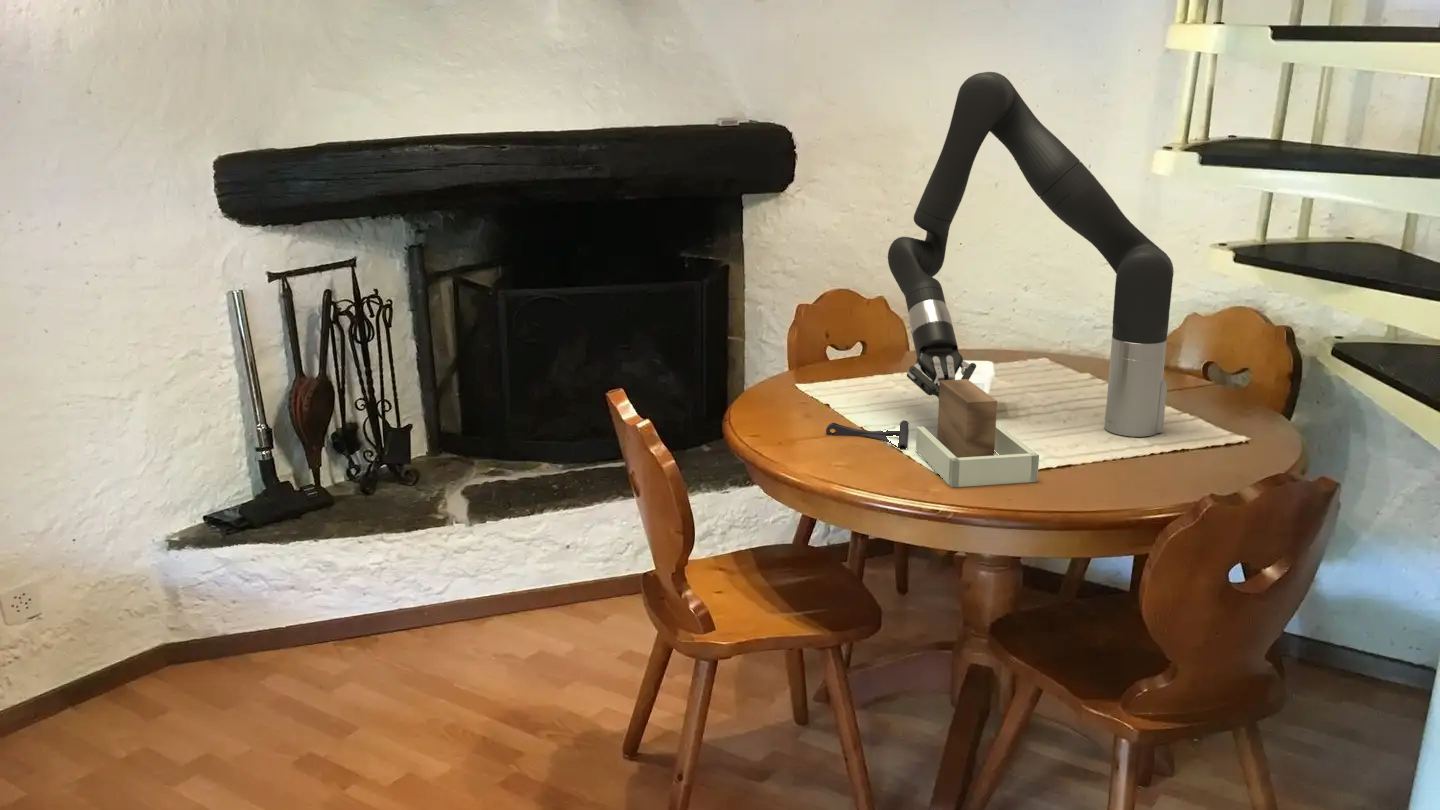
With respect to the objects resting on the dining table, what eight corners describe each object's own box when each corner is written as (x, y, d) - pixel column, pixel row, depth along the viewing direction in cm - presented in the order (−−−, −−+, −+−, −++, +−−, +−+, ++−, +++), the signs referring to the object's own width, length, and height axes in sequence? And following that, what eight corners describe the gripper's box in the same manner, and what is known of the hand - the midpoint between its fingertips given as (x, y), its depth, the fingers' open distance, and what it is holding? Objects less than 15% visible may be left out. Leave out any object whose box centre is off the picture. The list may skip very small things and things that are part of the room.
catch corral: (994, 446, 196) (996, 422, 195) (1037, 481, 179) (1039, 455, 177) (915, 451, 194) (916, 426, 193) (951, 487, 177) (952, 460, 176)
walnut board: (964, 444, 197) (967, 379, 194) (993, 470, 184) (997, 400, 181) (937, 446, 197) (939, 380, 193) (964, 472, 183) (967, 402, 180)
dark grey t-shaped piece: (829, 425, 212) (829, 411, 211) (908, 428, 209) (909, 414, 208) (822, 450, 198) (822, 435, 197) (907, 453, 195) (907, 438, 195)
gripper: (901, 320, 200) (920, 405, 192) (972, 317, 202) (993, 401, 194) (892, 342, 207) (910, 425, 198) (961, 339, 208) (981, 421, 200)
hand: (951, 413), depth 196 cm, fingers closed
